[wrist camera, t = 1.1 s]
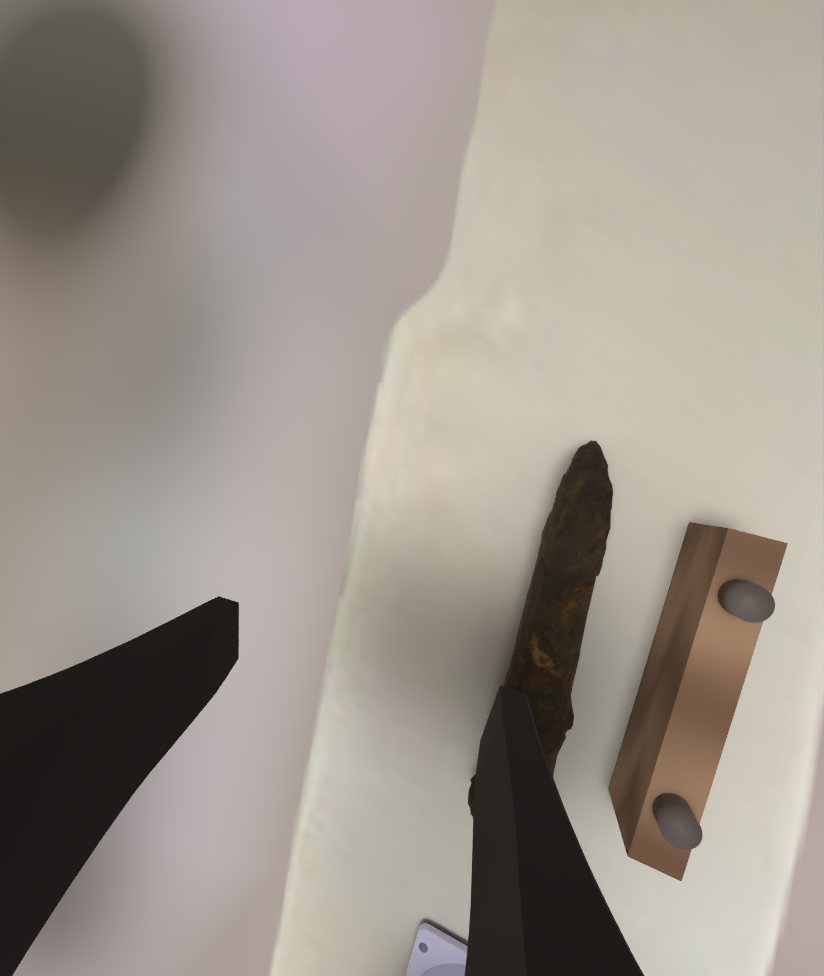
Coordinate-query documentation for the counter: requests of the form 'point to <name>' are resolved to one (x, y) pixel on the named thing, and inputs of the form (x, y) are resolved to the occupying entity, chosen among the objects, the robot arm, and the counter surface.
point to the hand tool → (561, 599)
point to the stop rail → (691, 691)
